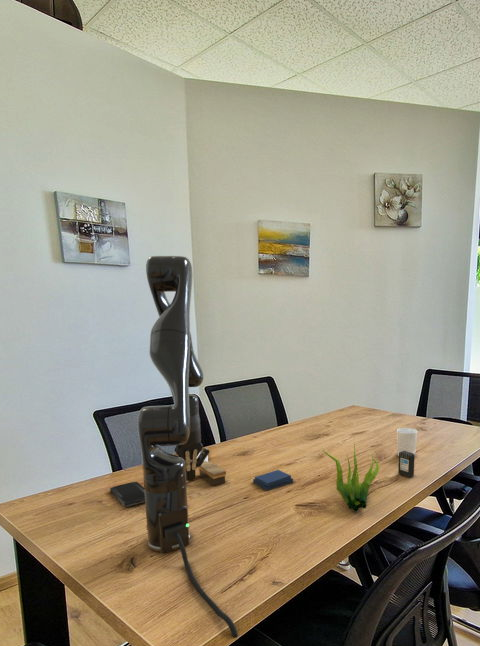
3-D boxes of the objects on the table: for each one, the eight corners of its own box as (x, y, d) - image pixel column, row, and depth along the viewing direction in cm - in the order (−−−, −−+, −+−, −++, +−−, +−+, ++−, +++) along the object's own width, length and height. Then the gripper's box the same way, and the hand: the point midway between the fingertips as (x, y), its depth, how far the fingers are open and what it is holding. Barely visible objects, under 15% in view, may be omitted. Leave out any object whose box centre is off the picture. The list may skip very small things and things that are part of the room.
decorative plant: (385, 476, 145) (387, 434, 142) (365, 516, 117) (366, 464, 114) (334, 470, 150) (335, 429, 147) (303, 507, 122) (303, 457, 119)
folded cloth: (293, 482, 139) (293, 475, 139) (266, 490, 133) (265, 483, 132) (279, 475, 145) (279, 468, 145) (253, 482, 139) (252, 475, 138)
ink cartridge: (397, 474, 147) (398, 451, 145) (402, 472, 148) (402, 450, 147) (409, 478, 143) (410, 455, 142) (413, 476, 145) (414, 453, 144)
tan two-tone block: (226, 483, 138) (226, 471, 137) (213, 486, 135) (212, 474, 135) (210, 472, 147) (210, 461, 146) (198, 475, 144) (197, 463, 144)
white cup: (419, 454, 166) (420, 429, 165) (411, 460, 160) (412, 434, 158) (400, 451, 171) (401, 426, 169) (392, 456, 164) (393, 431, 162)
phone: (136, 481, 136) (153, 496, 125) (136, 484, 136) (153, 499, 125) (108, 487, 131) (124, 504, 120) (109, 491, 131) (124, 507, 120)
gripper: (170, 434, 126) (173, 490, 130) (213, 426, 135) (215, 479, 138) (161, 429, 132) (165, 482, 135) (203, 422, 141) (205, 472, 144)
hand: (190, 480), depth 137 cm, fingers closed
